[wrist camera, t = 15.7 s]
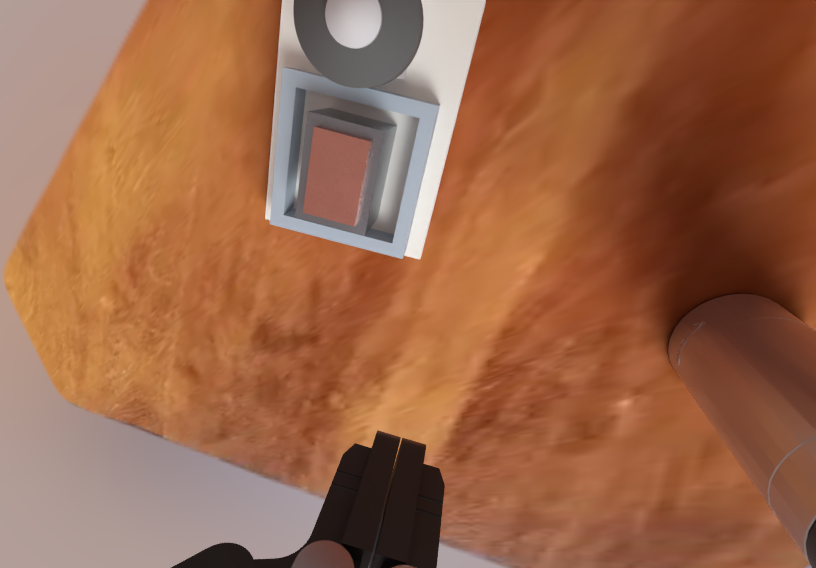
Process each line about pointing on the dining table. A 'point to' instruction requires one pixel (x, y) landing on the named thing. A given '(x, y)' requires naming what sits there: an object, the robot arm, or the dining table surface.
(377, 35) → the wheel
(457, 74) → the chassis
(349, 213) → the copper topped block
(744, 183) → the dining table surface
